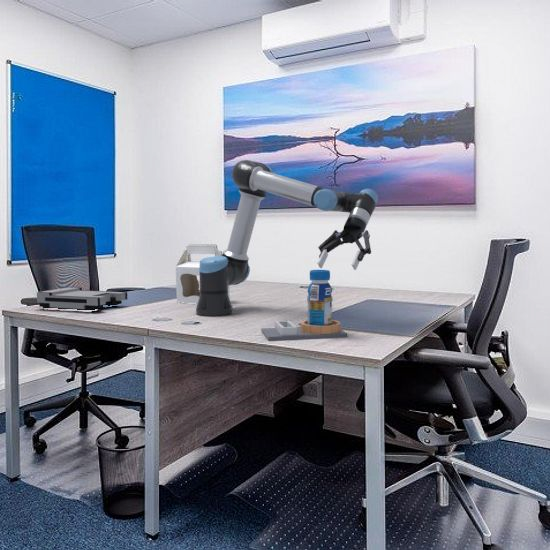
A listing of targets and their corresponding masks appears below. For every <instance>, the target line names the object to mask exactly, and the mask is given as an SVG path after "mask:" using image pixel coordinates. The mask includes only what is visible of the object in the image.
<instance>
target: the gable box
mask: <svg viewBox="0 0 550 550" xmlns="http://www.w3.org/2000/svg"><path fill="white" fill-rule="evenodd" d="M185 248H186V250H183V253H182V255H181V257H180V259H179V260H178V262H177V264H176V266H175V283H176V284H175V289H176V303H177V302H184V303H183V304H185V303H196V304H195V305H197V304H198V300H199V297H200V281H199V280H198V277H197V276H200V272H199V267H200V261H192V257H191V255H193V254H195V255H197V254H199V255H214V256H222V254H223V251H222V250H219V249H218V245H217V244H216V243H213V244H211V243H210V244H209V243H189V244H187V246H185ZM228 296H229V299H230V298H231V297H230V285H229V286H228ZM230 300H231V299H230Z"/></svg>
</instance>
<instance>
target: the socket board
mask: <svg viewBox="0 0 550 550" xmlns="http://www.w3.org/2000/svg"><path fill="white" fill-rule="evenodd" d="M341 327H342V322H341V321H339V320H335V319H332V325H330V326H314V325H308V319H305V320H302V321H301V322H300V326H297V325H295V324H294V323H293V322H291V320H275V321H274V327H263V328H262V327H261V328H260V330H261V331H260V332H261V334H262V335H263V334H264V335H263V336H264V337H265V338H266V339H267V341H268V342H269V341H270V342H271V341H290V340H309V339H311V340H312V339H333V338H348V332H346V331H344V330H343V329H342V328H341Z"/></svg>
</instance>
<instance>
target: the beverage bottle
mask: <svg viewBox="0 0 550 550" xmlns="http://www.w3.org/2000/svg"><path fill="white" fill-rule="evenodd" d="M330 279H331V270H330V269H329V270H328V269H311V270H309V281H311V282H310V284H309V285H308V287H307V294H308V295H307V298H306V301H307V320H308V325H314V326H330V325H332V320H333V318H332V317H333V316H332V315H333V295H332V293H333V288H332V286H331V284H330V282H329V281H330Z"/></svg>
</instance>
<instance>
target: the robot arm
mask: <svg viewBox="0 0 550 550" xmlns="http://www.w3.org/2000/svg"><path fill="white" fill-rule="evenodd" d="M231 179H232V181H233V183H234V185H236V186H237V187H238V192H239V194H240V198H239V199H240V200H239V203H238V205H237V209H236V214H235V217H234V222H233V226H232V230H231V234H230V237H229V241H228V245H227V248H226V249H224V250H223V251H222V256H215V255H214V256H209V257H208V256H207V257H203V258H202V259H200V261H199V262H200V267H199V272H200V275H199V292H200V297H199V300H198V304H196V308H195V313H196V314H195V315H197V316H204V317H205V316H206V317H219V315H221V316H228V315H231V314H233V312H234V311H233V305H232V302H231V299H229V296H228V286H229V287H230V286H235V285H239V284H242V283H244V282H245V281H246V280H247V279H248V277H249V275H250V272H251V268H250V266H249V259H250V257H249V256H248V249H249V246H250V242H251V239H252V234H253V231H254V226H255V224H256V221H257V216H258V214H259V213H258V212H259V209H260V205H261V201H263V200H265V199H266V195H267V193H269V194H272V195H275V196H279V197H282V198H286V199H289V200H292V201H294V202H299V203H301V204H305V205H308V206H311V207H314V208H318V210H321V211H325V212H329V211H330V212H331V211H332V212H340V213H341V212H342V213H348V214H349V215H348V216H347V219H346V221H345V223H344V225H343V229H342V231H338V230H336V229H335V230H334V231H333V232H332V233H331V235H330V236H328V238H326V239H325V240H324V241H323V242H322V243H321V244H320V245H319V246H318V247H317V248H318V250H319V251H320V254H319V255H318V261H317V265H318V267H319V268H320V269H323V266H324V265H325V262H326V260H327V258H328V256H329V253H330V252H331V251H334V249H336V248H337V247H339V246H343V245H344V244H354V243H355V245H356V246H357V247H358V250H357V251H356V253H355V256H354V258H353V260H352V262H351V266H352V268H353V270H354V271H357V268H358V266H359V265H360V262H362V261H363V259H364V257H365V255H366V254H367V255H370V254H372V250H371V243H370V237H371V235H370V233H369V231H368V229H367V230H366V228H367V226H368V224H369V222H370V219H371V218H372V215H373V212H374V211H375V209H376V207H377V203H378V202H379V195H378V194H377V192H376V191H374V189H371V188H365V189H362V190H361V191H359V193H351V192H347V191H346V192H344V191H339V190H332V189H328V188H325V187H322V186H317V185H316V184H311V183H308V182H305V181H301V180H297V179H294V178H290V177H287V176H284V175H280V174H277V173H274V171H273V169H272V168H271V167H270V166H269V165H267V164H265V163H263V162H260V161H259V162H258V161H254V160H253V161H252V160H248V159H243V160H240V161H237V163H235V164H234V165H233V167H232V169H231ZM361 238H363V240H364V246H365V247H363V244H361V242H360V239H361ZM341 239H342V240H341Z"/></svg>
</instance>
